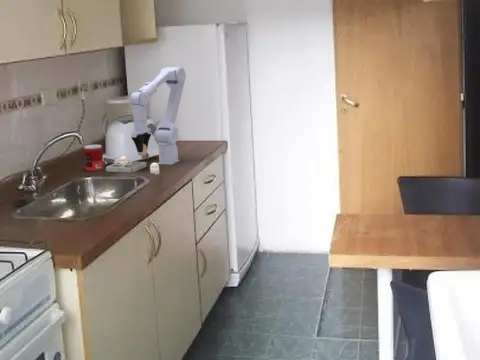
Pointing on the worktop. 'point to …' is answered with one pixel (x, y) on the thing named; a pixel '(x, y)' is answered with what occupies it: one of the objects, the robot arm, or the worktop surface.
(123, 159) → the cream egg seated
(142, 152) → the brown egg
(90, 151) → the canned food
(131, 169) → the egg tray
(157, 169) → the cream egg loose
